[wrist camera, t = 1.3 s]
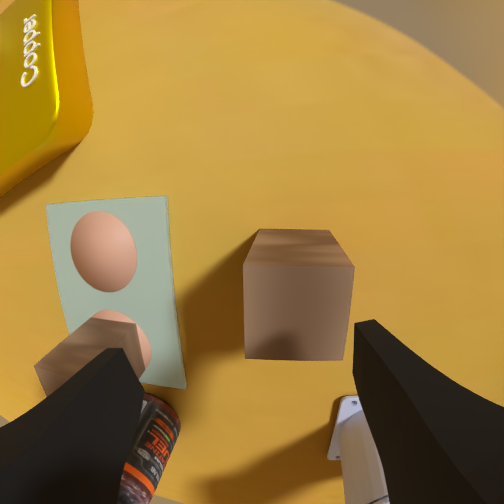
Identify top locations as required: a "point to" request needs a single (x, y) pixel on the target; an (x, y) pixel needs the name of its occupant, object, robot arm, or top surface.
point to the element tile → (40, 86)
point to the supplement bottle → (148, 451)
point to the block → (88, 351)
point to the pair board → (120, 274)
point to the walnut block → (296, 296)
